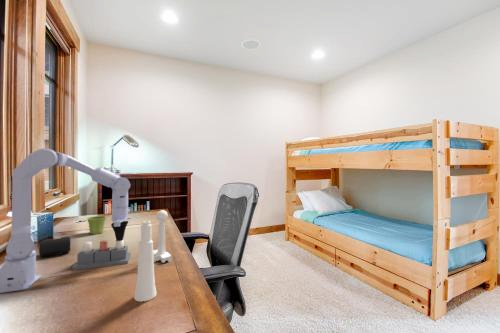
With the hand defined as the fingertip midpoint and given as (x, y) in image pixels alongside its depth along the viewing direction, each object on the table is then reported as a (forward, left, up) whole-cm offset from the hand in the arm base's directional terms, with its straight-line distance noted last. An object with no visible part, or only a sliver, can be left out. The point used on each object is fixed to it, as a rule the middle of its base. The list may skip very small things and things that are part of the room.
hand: (119, 240), depth 96 cm
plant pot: (+48, +19, -8) cm, 52 cm away
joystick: (-4, -14, -8) cm, 17 cm away
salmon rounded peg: (0, +6, -5) cm, 7 cm away
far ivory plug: (0, 0, -5) cm, 5 cm away
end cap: (+16, +27, -8) cm, 32 cm away
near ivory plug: (0, +11, -4) cm, 12 cm away
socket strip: (0, +6, -8) cm, 10 cm away
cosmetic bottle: (-32, -11, -8) cm, 35 cm away
